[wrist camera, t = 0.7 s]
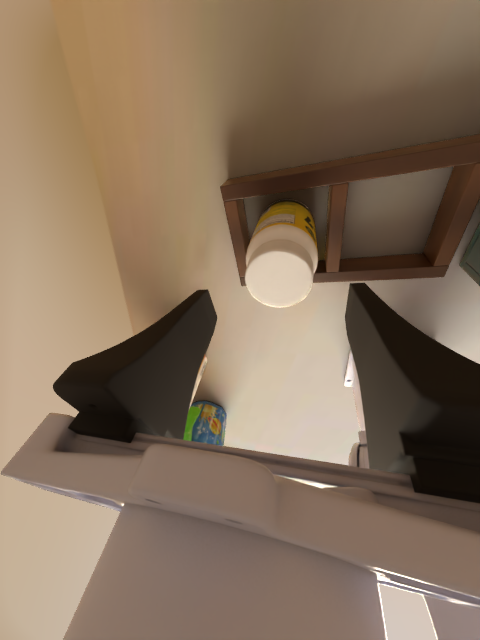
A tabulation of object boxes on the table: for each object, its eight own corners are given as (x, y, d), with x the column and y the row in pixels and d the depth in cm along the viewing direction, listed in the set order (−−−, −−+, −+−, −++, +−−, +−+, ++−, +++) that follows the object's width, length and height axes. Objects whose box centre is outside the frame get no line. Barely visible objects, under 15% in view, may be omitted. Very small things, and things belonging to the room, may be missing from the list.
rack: (432, 263, 19) (444, 277, 17) (245, 274, 23) (241, 286, 22) (484, 132, 13) (508, 136, 12) (227, 179, 18) (219, 186, 16)
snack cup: (177, 383, 42) (151, 441, 35) (233, 393, 40) (217, 456, 33) (191, 420, 53) (173, 470, 45) (235, 429, 51) (224, 482, 44)
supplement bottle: (315, 250, 20) (321, 311, 14) (263, 257, 22) (247, 315, 16) (313, 190, 17) (319, 236, 11) (253, 203, 19) (228, 250, 13)
